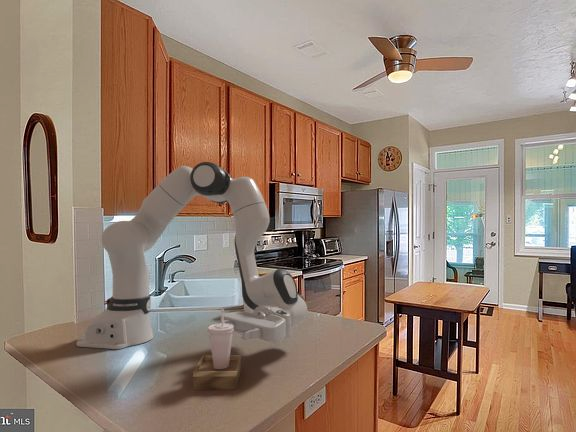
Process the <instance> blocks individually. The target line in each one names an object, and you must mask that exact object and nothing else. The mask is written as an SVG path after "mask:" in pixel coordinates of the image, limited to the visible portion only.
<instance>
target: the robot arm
mask: <svg viewBox="0 0 576 432" xmlns="http://www.w3.org/2000/svg"><path fill="white" fill-rule="evenodd" d="M196 196H202V197H203V198H205V199H207V200H209V201H211V202H214V203H216V204H225V203H228V204H229V206H230V209H231V212H232V215H233V218H234V224H235V236H234V239H233V240H234V241H233V242H234V250H235V255H236V259H237V264H238V270H239V275H240V280H241V281H240V282H241V296H242V301H243V300H244V302H245V303H246V305H247V306H248V307H250V308H251V309H253V310H254V311H253V314H252V313H247V312H244V311H241V310H240V311H232V312H227V313H224V323H228V324H232V325H233V326H234V331H233V332H234V333H237V334H240V335H241V337H240V338H241V339H243V340H246V341H247V340H249V339H250V340H251V339H259V340H263V341H267V342H270V343H274V342H279V341H282V340H284V339H290V337H291V331H292V330H291V329H293V328H295V327H297V326H298V325H301V323H302V322H303V321H305V319H306V317H307V314H308V304H307V302H305V301H304V300H303V299H302V298H301V297H300V296H299V295H298V293H297V292H298V287H297V283H296V280H295V278H294V277H293V275H292V274H291V273H290V272H288V271H287V270H285V269H283V268H277V269H274V270H272V271H268V272H269V273H267V274H265V275H263V276H260V277H259V275H258V271H259V270H258V266H257V262H256V257H255V248H256V246H257V244H258V241H259V240H260V239H261V237H263V235H264V234H265V233H266V231H268V228H269V225H270V222H271V221H270V220H271V219H270V213H269V210H268V207H267V204H266V201H265V199H264V196H263V193H261V190H260V188H259V186H258V185H257V184H256V181H255V180H254V179H253V178H252V177H249V176H239V177H237V178H232V177H231V176H230V173H228V172H227V171H226V170H225V169H223V168H222V167H221V166H219V165H218V164H217V163H214V162H211V161H202V162H200V163H197V164H196V165H195V166H194V167H193V168H192V167H191V166H187V165H180V166H178V167H177V168H176V169H174V170H172V171H171V172H170V173H169V174H168V175H167V176H165V177H164V178H163V179H162V180H161V181H160V182H159V183H158V184H157V186H155V187H154V188H153V190H151V192H149V194H148V195H147V196H146V197H145V198H144V199H143V200H142V203H141V206H140V208H139V210H138V211H137V213H136V214H135V215H134V217H132V219H130V220H121V221H120V220H119V221H117V222H114V223H112V224H110V225H108V226H107V227H106V228H105V229H104V230H103V232H102V234H101V244H102V247H103V248H104V249H105V251H106V252H107V255H108V258H109V263H110V267H111V273H112V296H111V297H109V298H108V299H106V300H104V301H103V302H104V306H105V305H106V308H105V310H103V311H102V312H100V313H99V314H98V315H96V316H95V317H94V318H93V319H92V320H90V321H88V324H87V326H86V330H85V334H84V335H82V336H81V337H80V338H78V340H77V341H76V347H82V348H95V349H106V350H107V349H108V350H109V349H111V350H120V349H121V350H122V349H125V348H127V347H132V346H136V345H140V344H144V343H146V342H149V341H151V340H152V339H153V338H154V331H153V328H152V322H151V314H150V312H151V308H152V306H151V305H152V301H151V300H152V299H151V294H150V269H149V268H148V266H147V262H146V257H145V252H148V251H149V250H150V249H152V248H153V247H154V246H155V245H156V243H157V241H158V240H159V238H160V237H161V236H162V234H164V231H165V229H166V228H167V227H168V225H169V224H170V223H171V222H172V221H173V220H174V218H176V216H177V215H179V213H180V212H181V211H182V210H183V209H184V208H185V206H187V205H188V204H189V202H191V200H192V199H194V198H195V197H196ZM306 304H307V305H306ZM219 321H220V322H219V324H220V323H222V314H221V315H220V319H219Z"/></svg>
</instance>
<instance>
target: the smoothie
mask: <svg viewBox="0 0 576 432" xmlns="http://www.w3.org/2000/svg"><path fill="white" fill-rule="evenodd" d="M224 311H225V310H224V308H221V315H222V323H220V322H219V323H214V324H210V325H209V326H208V327H207V332H208V335H209V341H210V342H209V343H210V348H211V356H212V358H213V366H214V368H215V369H225V368H227V367H229V360H230V355H231V350H232V340H233V332H234V326H233V325H232V324H228V323H224V314H225V312H224Z"/></svg>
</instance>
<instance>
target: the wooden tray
mask: <svg viewBox="0 0 576 432" xmlns="http://www.w3.org/2000/svg"><path fill="white" fill-rule="evenodd" d="M241 373H242V355H241V354H240V355H239V354H238V355H236V354H235V355H233V354H230V360H229V367H227V368H225V369H215V368H214V366H213V358H212V355H202V356H201V357H200V360H199V361H198V363H197V365H196V366H195V368H194V370H193V372H192V390H193V391H195V390H196V391H200V390H201V391H208V390H210V391H211V390H213V391H214V390H220V391H221V390H224V391H225V390H237V388H238V385H239V381H240V376H241Z"/></svg>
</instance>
